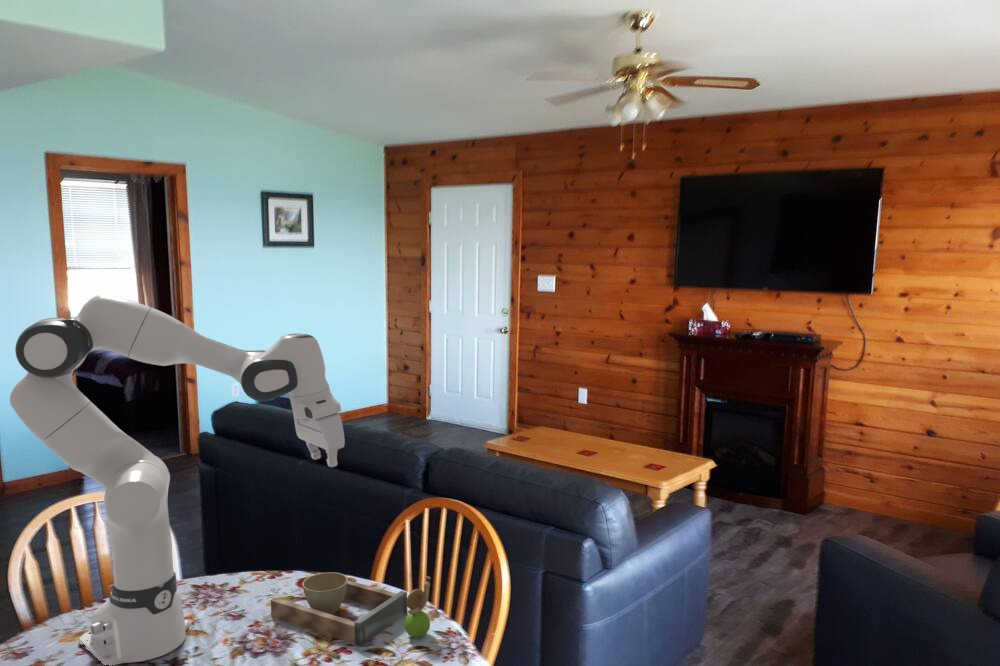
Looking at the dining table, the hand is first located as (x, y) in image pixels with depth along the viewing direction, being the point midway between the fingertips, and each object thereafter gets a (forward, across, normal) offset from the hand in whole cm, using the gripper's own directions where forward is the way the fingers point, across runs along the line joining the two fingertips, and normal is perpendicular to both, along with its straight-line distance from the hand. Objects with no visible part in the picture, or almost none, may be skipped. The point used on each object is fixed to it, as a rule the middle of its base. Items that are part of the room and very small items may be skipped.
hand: (324, 462), depth 160 cm
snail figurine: (+37, +22, +4) cm, 43 cm away
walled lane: (+34, +4, -5) cm, 35 cm away
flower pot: (+34, 0, -7) cm, 35 cm away
